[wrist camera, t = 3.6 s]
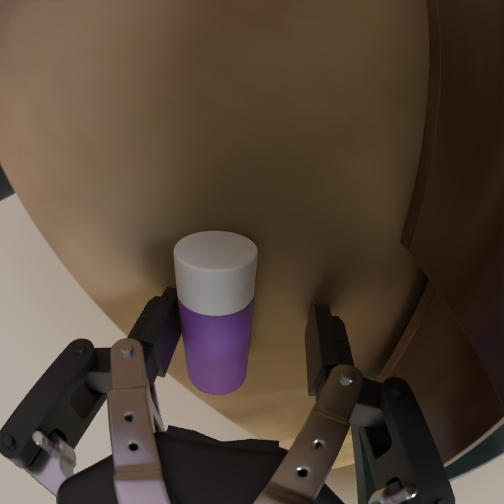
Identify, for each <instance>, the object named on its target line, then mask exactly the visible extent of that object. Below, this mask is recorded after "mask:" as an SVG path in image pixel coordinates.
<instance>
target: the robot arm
mask: <svg viewBox="0 0 504 504" xmlns="http://www.w3.org/2000/svg"><path fill="white" fill-rule="evenodd" d="M181 333H182V328H181V321H180V313H179V304H178V295H177V288H172V287H167V288H166V289H165V291H164V293H163V295H162V296H155V297H154V298H152V299H151V300H150V301H148V303H147V304H146V306H145V308H144V311H142V313H141V315H140V317H139V318H138V320H137V321H136V323H135V325H134V327H133V328H132V330H131V332H130V334H129V335H128V337H127V338H125V339H121V340H119V341H117V342H116V343H115V344H114V345H113V346H112V347H111V348H94V346H93V344H92V342H91V341H89V340H87V339H77V340H74V341H72V342H71V343H70V344H69V345H68V346H67V347H66V348H65V349H64V351H63V352H62V353H61V354H60V355H59V356H58V358H57V359H56V360H55V361H54V362H53V363H52V364H51V366H50V367H49V368H48V369H47V370H46V372H45V373H44V374H43V375H42V376H41V378H40V379H39V380H38V381H37V383H36V384H35V385H34V386H33V388H32V389H31V390H30V391H29V393H28V394H27V395H26V396H25V398H24V399H23V400H22V402H21V403H20V404H19V405H18V407H17V408H16V409H15V411H14V412H13V414H12V415H11V416H10V418H9V419H8V420H7V422H6V423H5V425H4V426H3V427H2V429H1V430H0V453H1V454H2V455H3V456H4V457H6V458H8V459H9V460H10V461H12V462H13V463H14V464H15V465H16V466H18V467H19V468H21V469H23V470H24V471H26V472H28V473H29V474H30V475H31V476H32V477H33V478H35V479H36V480H37V481H38V482H39V483H40V484H41V485H43V486H44V487H45V488H46V489H47V490H48V491H50V492H51V493H52V494H53V495H55V496H56V503H57V504H344V503H343V502H342V500H341V499H340V498H339V497H338V496H337V495H336V494H335V493H334V492H333V491H332V490H331V489H330V488H329V487H328V486H327V485H326V484H325V483H324V482H325V480H326V478H327V476H328V474H329V472H330V470H331V468H332V466H333V464H334V462H335V460H336V458H337V455H338V453H339V451H340V449H341V447H342V444H343V442H344V440H345V437H346V435H347V432H348V430H349V427H350V424H354V425H358V428H359V431H360V434H361V438H362V441H363V444H364V448H365V451H366V455H367V458H368V462H369V465H370V469H371V473H372V476H373V480H374V484H375V488H376V492H375V493H374V494H373V495H372V496H371V497H370V499H369V503H368V504H455V497H454V494H453V491H452V488H451V485H450V482H449V479H448V476H447V473H446V470H445V468H444V465H443V462H442V459H441V457H440V454H439V452H438V449H437V446H436V444H435V441H434V439H433V437H432V434H431V432H430V429H429V427H428V425H427V422H426V420H425V418H424V415H423V413H422V411H421V409H420V407H419V404H418V402H417V400H416V398H415V396H414V394H413V391H412V389H411V387H410V385H409V384H408V383H407V382H406V381H405V380H404V379H402V378H399V377H390V378H387V379H386V380H385V381H384V382H383V383H381V382H377V381H373V380H369V379H366V378H364V377H363V375H362V373H361V372H360V370H359V369H357V368H356V367H355V366H354V363H353V358H352V354H351V349H350V345H349V341H348V337H347V334H346V328H345V324H344V323H343V321H342V320H341V319H340V318H339V316H331V312H330V307H329V305H328V304H314V303H313V304H312V306H311V310H310V314H309V318H308V322H307V325H306V330H305V349H306V362H307V377H308V395H309V396H316V403H315V405H314V407H313V409H312V411H311V413H310V414H309V416H308V418H307V420H306V422H305V424H304V425H303V427H302V429H301V431H300V433H299V434H298V436H297V438H296V439H295V441H294V443H293V445H292V446H291V448H290V450H286V449H284V448H281V447H279V441H274V440H259V439H246V440H236V441H225V442H223V441H218V440H216V439H213V438H211V437H208V436H206V435H203V434H201V433H199V432H196V431H194V430H189V429H184V428H178V427H175V426H170V425H169V426H168V429H167V431H165V428H164V425H163V422H162V419H161V414H160V409H159V404H158V399H157V394H156V389H155V384H154V382H155V379H156V377H157V376H160V377H165V375H166V372H167V369H168V367H169V364H170V361H171V359H172V356H173V354H174V351H175V348H176V346H177V343H178V341H179V338H180V336H181ZM106 399H107V404H108V420H109V431H110V440H111V447H112V455H110V456H108V457H106V458H105V459H103V460H101V461H99V462H97V463H95V464H94V465H92V466H90V467H88V468H86V469H84V470H82V471H80V472H78V473H77V474H74V473H73V468H74V467H75V466H76V455H75V452H74V448H75V447H76V445H77V444H78V442H79V440H80V439H81V437H82V436H83V434H84V433H85V431H86V429H87V428H88V426H89V425H90V423H91V422H92V420H93V419H94V417H95V415H96V414H97V412H98V411H99V409H100V408H101V406H102V405H103V403H104V402H105V400H106Z"/></svg>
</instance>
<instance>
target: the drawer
mask: <svg viewBox="0 0 504 504" xmlns="http://www.w3.org/2000/svg"><path fill="white" fill-rule="evenodd" d="M390 377H399V378H402V379H404V380H405V381H406V382H407V383H408V384H409V385H410V387H411V389H412V391H413V394H414V396H415V398H416V400H417V402H418V404H419V407H420V409H421V411H422V413H423V415H424V418H425V420H426V422H427V425H428V427H429V429H430V432H431V434H432V437H433V439H434V441H435V444H436V446H437V449H438V452H439V454H440V457H441V459H442V462H443V465H444V468H445V470H446V473H447V476H448V479H449V482H450V481H452V480H455V479H457V478H459V477H462V476H464V475H466V474H468V473H470V472H472V471H474V470H476V469H478V468H480V467H482V466H484V465H486V464H488V463H490V462H491V461H493V460H495V459H496V458H498V457H500V456H502V455H503V454H504V408H503V406H502V403H501V401H500V399H499V397H498V394H497V392H496V390H495V388H494V386H493V384H492V382H491V379H490V377H489V375H488V373H487V371H486V370H485V368H484V366H483V364H482V362H481V360H480V358H479V356H478V354H477V353H476V351H475V349H474V347H473V346H472V344H471V342H470V340H469V339H468V337H467V335H466V334H465V332H464V330H463V329H462V327H461V325H460V324H459V322H458V321H457V319H456V318H455V316H454V314H453V313H452V311H451V310H450V308H449V307H448V305H447V304H446V302H445V301H444V299H443V298H442V297H441V295H440V294H439V292H438V291H437V289H436V288H435V287H434V285H433V284H432V282H431V281H430V280H429V281H428V283H427V285H426V288H425V290H424V292H423V295H422V297H421V299H420V301H419V303H418V305H417V308H416V310H415V312H414V314H413V316H412V318H411V320H410V322H409V324H408V326H407V328H406V330H405V331H404V333H403V335H402V337H401V339H400V341H399V343H398V344H397V346H396V348H395V350H394V351H393V353H392V355H391V357H390V358H389V360H388V362H387V363H386V365H385V367H384V368H383V370H382V371H381V373H380V375H379V376H378V378H377V379H376V381H377V382H381V383H383V382H384V381H385V380H386V379H387V378H390ZM350 425H351V432H352V441H353V449H354V458H355V468H356V480H357V494H358V504H368V503H369V499H370V497H371V496H372V495H373V494H374V493H375V492H376V488H375V484H374V480H373V476H372V473H371V469H370V465H369V462H368V458H367V455H366V451H365V448H364V444H363V441H362V438H361V434H360V431H359V428H358V425H354V424H350Z"/></svg>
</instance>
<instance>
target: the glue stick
mask: <svg viewBox="0 0 504 504" xmlns="http://www.w3.org/2000/svg"><path fill="white" fill-rule="evenodd" d="M257 258H258V250H257V247H256V245H255V244H254V243H253V242H252V241H251V240H250V239H248V238H247V237H245V236H242V235H240V234H236V233H232V232H227V231H203V232H198V233H194V234H191V235H188V236H186V237H184V238H182V239H181V240H180V241H178V242H177V244H176V245H175V247H174V264H175V276H176V286H177V295H178V304H179V313H180V321H181V328H182V336H183V343H184V349H185V356H186V362H187V368H188V374H189V378H190V380H191V382H192V383H193V385H194V386H195V387H196V388H198V389H199V390H201V391H202V392H205V393H208V394H212V395H224V394H228V393H231V392H233V391H235V390H237V389H238V388H239V387H240V386H241V385H242V384H243V383H244V381H245V378H246V373H247V363H248V353H249V342H250V332H251V322H252V311H253V301H254V290H255V279H256V269H257Z"/></svg>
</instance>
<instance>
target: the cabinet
mask: <svg viewBox="0 0 504 504" xmlns="http://www.w3.org/2000/svg"><path fill="white" fill-rule="evenodd" d="M427 4H428V14H429V29H430V81H429V97H428V108H427V118H426V126H425V134H424V141H423V147H422V153H421V159H420V165H419V170H418V175H417V180H416V184H415V189H414V193H413V197H412V202H411V206H410V210H409V214H408V217H407V221H406V225H405V228H404V232H403V235H402V238H401V244H402V245H403V246H404V247H405V248H406V250H407V251H408V252H409V253H410V255H411V256H412V257H413V259H414V260H415V261H416V262H417V264H418V265H419V266H420V268H421V269H422V270H423V272H424V273H425V274H426V276H427V277H428V278H429V280H430V281H431V282H432V284H433V285H434V287H435V288H436V289H437V291H438V292H439V294H440V295H441V297H442V298H443V299H444V301H445V302H446V304H447V305H448V307H449V308H450V310H451V311H452V313H453V314H454V316H455V318H456V319H457V321H458V322H459V324H460V325H461V327H462V329H463V330H464V332H465V334H466V335H467V337H468V339H469V340H470V342H471V344H472V346H473V347H474V349H475V351H476V353H477V354H478V356H479V358H480V360H481V362H482V364H483V366H484V368H485V370H486V371H487V373H488V375H489V377H490V379H491V382H492V384H493V386H494V388H495V390H496V392H497V394H498V397H499V399H500V401H501V403H502V406H503V408H504V0H427Z"/></svg>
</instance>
